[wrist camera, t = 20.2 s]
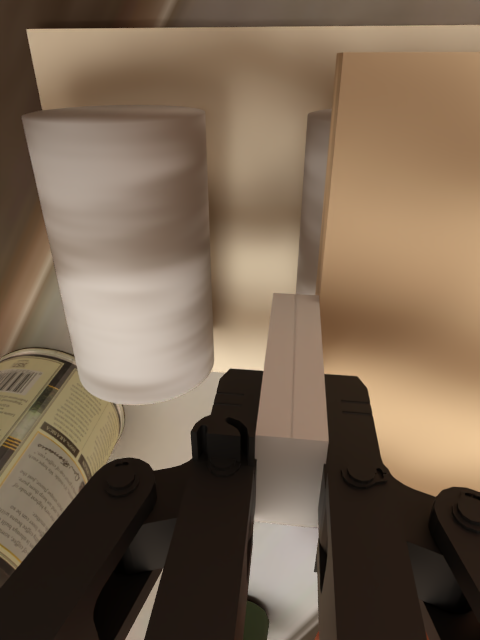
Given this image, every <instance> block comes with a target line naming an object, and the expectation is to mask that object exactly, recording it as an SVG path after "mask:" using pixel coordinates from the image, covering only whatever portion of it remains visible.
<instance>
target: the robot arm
mask: <svg viewBox="0 0 480 640" xmlns="http://www.w3.org/2000/svg"><path fill="white" fill-rule="evenodd" d="M191 444H192V459H191V460H190V461H188V462H186V463H184V464H182V465H179V466H176V467H172V468H167V469H161V470H156V471H153V470H152V468H151V467H150V465H149V464H148V463H146V462H144V461H142V460H140V459H136V458H122V459H116V460H114V461H112V462H109V463H107V464H105V465H104V466H102V467H101V468H100V469H99V470H98V471H97V472H96V473H95V474H94V475H93V476H92V477H91V478H90V480H89V481H88V482H87V483H86V485H85V486H84V487H83V488H82V489H81V491H80V492H79V493H78V494H77V495H76V497H75V498H74V499H73V500H72V502H71V503H70V504H69V505H68V506H67V508H66V509H65V510H64V511H63V513H62V514H61V515H60V516H59V517H58V519H57V520H56V521H55V522H54V523H53V525H52V526H51V527H50V528H49V530H48V531H47V532H46V533H45V534H44V536H43V537H42V538H41V539H40V540H39V542H38V543H37V544H36V545H35V547H34V548H33V549H32V550H31V551H30V553H29V554H28V555H27V556H26V558H25V559H24V560H23V561H22V562H21V564H20V565H19V566H18V567H17V568H16V570H15V571H14V572H13V573H12V575H11V576H10V577H9V578H8V579H7V581H6V582H5V583H4V584H3V585H2V587H1V588H0V640H125V639H126V637H127V635H128V633H129V631H130V629H131V627H132V625H133V624H134V622H135V620H136V618H137V616H138V614H139V612H140V611H141V609H142V607H143V605H144V603H145V601H146V599H147V597H148V596H149V594H150V592H151V590H152V588H153V586H154V584H155V583H156V581H157V579H158V577H159V575H160V573H161V571H162V569H163V568H164V569H163V572H162V576H161V580H160V583H159V587H158V591H157V594H156V598H155V602H154V605H153V609H152V613H151V617H150V620H149V624H148V628H147V631H146V635H145V639H144V640H243V634H244V624H245V614H246V605H247V595H248V585H249V575H250V565H251V555H252V545H253V524H254V522H263V523H273V524H282V525H292V526H301V527H311V528H317V527H318V525H319V539H318V547H317V554H316V561H315V569H314V572H317V574H318V613H319V640H427V636H428V638H429V640H480V492H478V491H475V490H472V489H469V488H466V487H450V488H447V489H444V490H442V491H441V492H440V493H439V494H438V495H437V496H436V497H435V496H432V495H429V494H426V493H424V492H421V491H418V490H415V489H413V488H411V487H408V486H406V485H404V484H403V483H401V482H400V481H398V480H397V479H395V478H394V477H393V476H392V475H391V473H390V471H389V469H388V468H387V467H386V466H385V465H384V464H383V461H382V459H381V454H380V449H379V444H378V439H377V434H376V429H375V424H374V419H373V416H372V409H371V405H370V398H369V393H368V388H367V387H366V386H365V385H364V384H363V382H362V381H361V380H360V379H359V377H358V376H348V375H334V374H324V364H323V349H322V334H321V319H320V305H319V295H302V294H283V293H273V299H272V307H271V315H270V323H269V331H268V339H267V347H266V355H265V363H264V371H260V370H246V369H231V368H230V369H229V370H228V371H227V372H226V373H225V374H224V375H223V376H222V377H221V378H220V381H219V385H218V388H217V394H216V396H215V400H214V405H213V408H212V412H211V415H209V416H206V417H204V418H202V419H201V420H200V421H198V422H197V423H196V424H195V425H194V427H193V429H192V430H191ZM425 631H426V632H425ZM426 633H427V636H426Z"/></svg>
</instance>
